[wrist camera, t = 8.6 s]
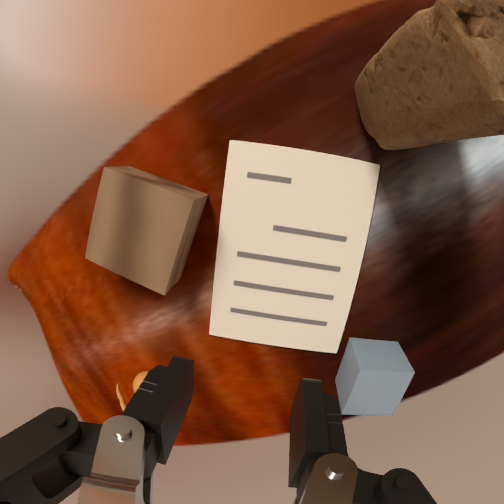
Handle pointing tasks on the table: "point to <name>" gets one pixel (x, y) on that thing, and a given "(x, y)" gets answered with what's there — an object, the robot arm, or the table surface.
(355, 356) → the slate cube
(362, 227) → the letter
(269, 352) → the table surface
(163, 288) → the walnut block
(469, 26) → the block
